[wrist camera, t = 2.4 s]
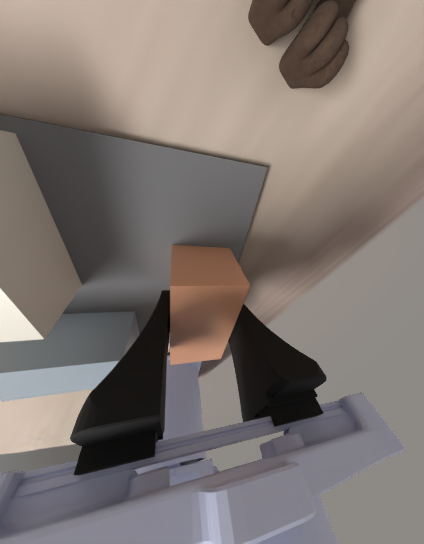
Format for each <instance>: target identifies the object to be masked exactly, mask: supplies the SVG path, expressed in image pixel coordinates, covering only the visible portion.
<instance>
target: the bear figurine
mask: <svg viewBox="0 0 424 544" xmlns="http://www.w3.org/2000/svg"><path fill="white" fill-rule="evenodd" d="M355 1H356V0H320V1H319V3H318V5H317V6H316V8H315V9H314V11H313V13H312V14H311V16H310V17H309V18H308V20H307V21H306V22H305V24H304V25H303V27H302V28H301V30H300V32H299V34H298V35H297V36H296V38H295V39H294V40H293V42H292V43H291V44H290V46H289V47H288V49H287V50H286V51H285V53H284V55H283V56H282V58H281V61H280V64H279V69H280V72H281V74H282V76H283V77H284V79H285V81H286V82H287V84H288V85H289V87H290V88H292V89H294V88H321V87H323V86H325V85H326V84H328V83H329V82H330V81H331V80H332V79H333V78H334V77H335V76H336V74H337V73H338V72H339V70H340V69H341V67H342V66H343V64H344V62H345V60H346V57H347V55H348V51H349V45H348V42H347V41H346V40H345V38H346V35H347V32H348V22H347V20H346V18H347V16H348V14H349V12H350V10H351V8H352V6H353V4H354V3H355ZM312 2H313V0H253V1H252V4H251V7H250V11H249V17H248V19H249V22H250V24H251V26H252V28H253V29H254V31H255V33H256V34H257V36H258V37H259V39H260V40H261V42H262V43H263V44H264V45H269V44H271V43H272V42H274V41H275V40H276V39H277V38H279V37H281V36H284V35H286V34H287V33H289V32H291V31H292V30H293V29H295V28H296V27H297V26H298V24H299V23H300V22H301V21H302V19H303V18H304V17H305V15H306V13H307V12H308V10H309V8H310V6H311V4H312Z"/></svg>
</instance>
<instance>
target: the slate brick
mask: <svg viewBox="0 0 424 544" xmlns="http://www.w3.org/2000/svg"><path fill="white" fill-rule="evenodd" d="M139 335H140V334H139V329H138V324H137V319H136V314H135V311H129V312H104V313H78V314H62V315H61V316H60V318H59V319H58V320H57V322H56V323H55V325H54V326H53V328H52V329H51V330H50V332H49V333H48V335H47V336H46V338H45V339H40V340H26V341H11V342H0V400H1V401H10V400H17V399H24V398H31V397H38V396H46V395H53V394H60V393H67V392H74V391H82V390H89V389H95V388H96V387H97V385H98V384H99V383H100V382H101V381H102V380H103V379H104V378H105V377H106V376H107V375H108V374H109V373H110V371H111V370H112V369H113V368H114V367H115V366H116V364H117V363H118V362H119V361H120V360H121V358H122V357H123V356H124V355H125V354H126V352H127V351H128V350H129V348H130V347H131V346H132V344H133V343H134V342H135V340H136V339H137V338H138V336H139Z"/></svg>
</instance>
